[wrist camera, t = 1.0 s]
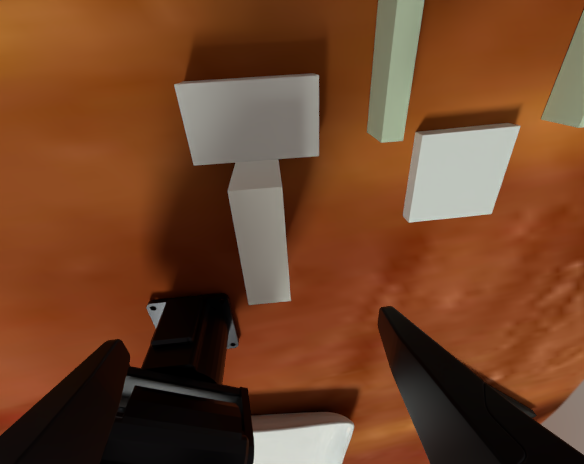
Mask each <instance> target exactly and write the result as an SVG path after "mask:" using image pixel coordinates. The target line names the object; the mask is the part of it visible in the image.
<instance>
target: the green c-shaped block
mask: <svg viewBox="0 0 584 464" xmlns="http://www.w3.org/2000/svg"><path fill="white" fill-rule="evenodd" d="M423 7H424V0H378V9H377V21H376V33H375V44H374V56H373V68H372V79H371V91H370V103H369V114H368V126H367V133H369V134H370V135H372V136H373V137H374V138H376V139H377V140H378V141H380V142H381V143H382V142H395V141H403V137H404V131H405V124H406V118H407V111H408V105H409V98H410V92H411V85H412V79H413V72H414V65H415V59H416V52H417V46H418V39H419V33H420V26H421V20H422V13H423ZM541 119H542V120H546V121H551V122H555V123H560V124H564V125H569V126H573V127H577V128H580V127H584V11H583V13H582V16H581V18H580V21H579V23H578V26H577V29H576V31H575V34H574V36H573V39H572V41H571V44H570V46H569V49H568V51H567V54H566V57H565V59H564V62H563V64H562V67H561V69H560V72H559V74H558V77H557V80H556V82H555V85H554V87H553V90H552V92H551V95H550V97H549V100H548V103H547V105H546V108H545V110H544V113H543V115H542V118H541Z"/></svg>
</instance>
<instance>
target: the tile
mask: <svg viewBox="0 0 584 464" xmlns="http://www.w3.org/2000/svg"><path fill="white" fill-rule="evenodd" d="M519 129H520V126H519V125H515V124H511V123H501V124H491V125H481V126H471V127H461V128H450V129H440V130H430V131H420V132H415V139H414V145H413V152H412V158H411V165H410V172H409V178H408V185H407V191H406V198H405V204H404V211H403V217H404V218H405V219H406V220H407V221H408V222H418V221H428V220H437V219H447V218H457V217H466V216H476V215H486V214H492V211H493V208H494V205H495V202H496V199H497V196H498V193H499V190H500V187H501V184H502V180H503V177H504V174H505V171H506V168H507V165H508V162H509V159H510V156H511V153H512V150H513V147H514V144H515V141H516V138H517V135H518V132H519Z"/></svg>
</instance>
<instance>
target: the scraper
mask: <svg viewBox="0 0 584 464" xmlns="http://www.w3.org/2000/svg"><path fill="white" fill-rule="evenodd" d="M174 86H175V90H176V94H177V99H178V103H179V107H180V111H181V115H182V119H183V123H184V127H185V132H186V136H187V140H188V144H189V148H190V152H191V156H192V160H193V165H194V166H195V165H208V164H222V163H235V166H234V170H233V173H232V177H231V180H230V184H229V188H228V197H229V202H230V207H231V213H232V218H233V223H234V229H235V234H236V239H237V245H238V250H239V256H240V261H241V266H242V272H243V277H244V282H245V288H246V293H247V298H248V304H249V305H254V304H264V303H274V302H284V301H291V297H290V284H289V271H288V257H287V244H286V231H285V217H284V204H283V191H282V182H281V174H280V167H279V160H278V159H287V158H300V157H313V156H319V75H317V74H314V73H309V74H293V75H278V76H262V77H246V78H231V79H215V80H200V81H184V82H181V83H177V84H174Z"/></svg>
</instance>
